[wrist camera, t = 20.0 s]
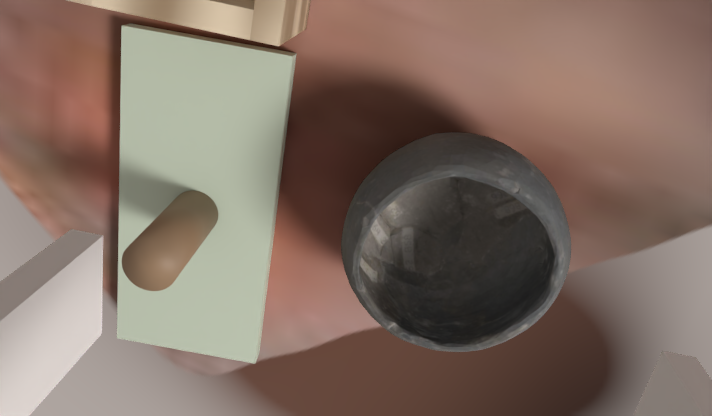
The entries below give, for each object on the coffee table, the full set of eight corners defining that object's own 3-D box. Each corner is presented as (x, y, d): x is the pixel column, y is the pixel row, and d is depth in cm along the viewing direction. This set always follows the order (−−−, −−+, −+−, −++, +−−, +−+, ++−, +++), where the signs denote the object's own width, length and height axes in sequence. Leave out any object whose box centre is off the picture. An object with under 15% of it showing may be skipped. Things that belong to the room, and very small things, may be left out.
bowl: (445, 326, 50) (454, 408, 41) (312, 210, 47) (289, 270, 38) (587, 209, 46) (634, 270, 36) (449, 71, 43) (462, 100, 33)
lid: (297, 52, 43) (264, 79, 33) (260, 349, 53) (226, 440, 43) (133, 22, 43) (50, 40, 33) (126, 325, 53) (61, 410, 43)
